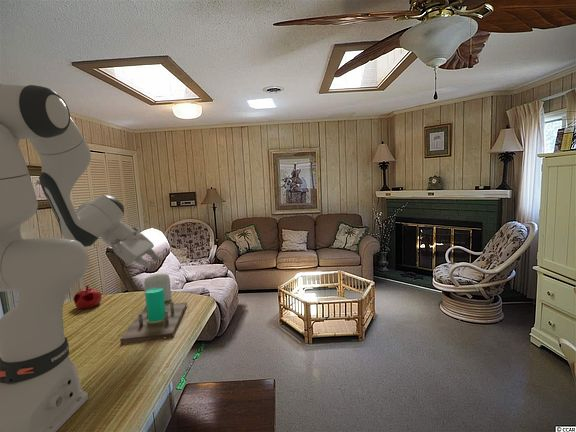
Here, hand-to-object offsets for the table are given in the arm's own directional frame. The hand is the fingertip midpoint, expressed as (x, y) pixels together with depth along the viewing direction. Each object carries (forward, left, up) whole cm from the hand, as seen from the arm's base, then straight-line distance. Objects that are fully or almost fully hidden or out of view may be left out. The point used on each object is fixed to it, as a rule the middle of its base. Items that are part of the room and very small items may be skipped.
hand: (153, 262), depth 107 cm
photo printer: (+21, +6, -23) cm, 31 cm away
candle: (0, +1, -21) cm, 21 cm away
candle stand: (0, +1, -22) cm, 22 cm away
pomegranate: (+25, +36, -23) cm, 49 cm away
